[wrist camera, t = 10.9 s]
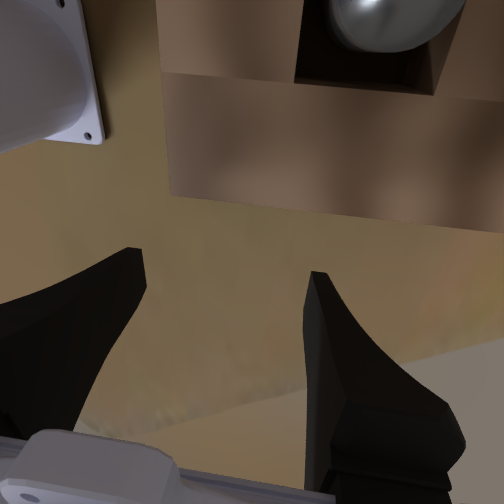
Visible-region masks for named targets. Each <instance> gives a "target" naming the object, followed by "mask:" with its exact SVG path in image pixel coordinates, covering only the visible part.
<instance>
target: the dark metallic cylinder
mask: <svg viewBox="0 0 504 504" xmlns="http://www.w3.org/2000/svg"><path fill="white" fill-rule="evenodd" d="M465 1H466V0H324V3H323V19H324V24H325V28H326V31H327V33H328V35H329V37H330V38H331V39H332V41H333V42H334V43H335V44H336V45H337V46H339V47H340V48H342V49H344V50H347V51H351V52H401V51H406V50H409V49H412V48H415V47H417V46H419V45H422V44H423V43H425V42H427V41H428V40H430V39H432V38H433V37H434V36H436V35H437V34H438V33H439V32H441V31H442V30H443V29H444V28H445V27H446V26H447V25H448V24H449V23H450V22H451V20H452V19H453V18H454V17H455V16H456V14H457V13H458V12H459V10H460V9H461V8H462V6H463V4H464V3H465Z"/></svg>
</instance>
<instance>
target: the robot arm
mask: <svg viewBox="0 0 504 504" xmlns="http://www.w3.org/2000/svg"><path fill="white" fill-rule="evenodd" d="M64 2H65V6H64V8H63V7H62V6H61V4H60V0H0V154H1V153H4V152H7V151H10V150H12V149H15V148H18V147H21V146H24V145H27V144H29V143H32V142H35V141H38V140H41V139H47V140H57V141H66V142H76V143H85V144H95V145H99V144H102V143H103V142H104V141H105V133H104V127H103V122H102V116H101V111H100V105H99V99H98V94H97V88H96V83H95V77H94V71H93V66H92V60H91V55H90V49H89V43H88V38H87V32H86V27H85V21H84V15H83V10H82V4H81V1H80V0H64ZM87 132H88V133H90V134H91V136H92V139H90V138H89V137H88V135H87ZM146 287H147V284H146V277H145V270H144V263H143V256H142V249H138V248H130V247H127V248H125V249H123V250H121V251H119V252H117V253H115V254H113V255H111V256H109V257H108V258H106V259H104V260H102V261H100V262H98V263H97V264H95V265H93V266H91V267H89V268H87V269H86V270H84V271H82V272H80V273H77V274H75V275H73V276H71V277H69V278H67V279H65V280H63V281H61V282H59V283H57V284H54V285H52V286H50V287H47V288H45V289H42V290H40V291H37V292H35V293H32V294H30V295H27V296H24V297H21V298H18V299H15V300H12V301H9V302H6V303H3V304H0V504H452V502H451V499H450V496H449V494H448V491H451V490H452V486H451V482H450V480H449V477H448V474H447V472H448V471H449V470H450V468H451V467H452V466H453V465H454V464H455V463H456V462H457V461H458V459H459V458H460V457H461V456H462V454H463V452H464V450H465V448H466V441H465V438H464V436H463V434H462V431H461V429H460V426H459V424H458V422H457V420H456V418H455V416H454V414H453V412H452V410H451V408H450V406H449V404H448V403H447V402H445V401H444V400H442V399H441V398H440V397H438V396H437V395H435V394H434V393H433V392H431V391H430V390H429V389H427V388H426V387H424V386H423V385H421V384H420V383H419V382H418V381H416V380H415V379H414V378H413V377H412V376H410V375H409V374H408V373H407V372H405V371H404V370H403V369H402V368H401V367H400V366H399V365H397V364H396V363H395V362H394V361H393V360H392V359H391V358H390V357H389V356H388V355H387V354H386V353H385V352H384V351H382V350H381V349H380V348H379V346H378V345H377V344H376V343H375V342H374V341H373V340H372V339H371V338H370V337H369V336H368V334H367V333H366V332H365V331H364V330H363V328H362V327H361V326H360V325H359V323H358V322H357V321H356V319H355V318H354V317H353V315H352V314H351V312H350V311H349V309H348V308H347V306H346V305H345V303H344V302H343V300H342V299H341V297H340V295H339V294H338V292H337V290H336V289H335V287H334V285H333V283H332V281H331V279H330V278H329V276H328V274H327V273H323V272H316V271H311V275H310V280H309V285H308V289H307V294H306V299H305V304H304V309H303V340H304V351H305V363H306V375H307V428H306V429H307V430H306V460H305V483H304V490H302V489H296V488H290V487H285V486H279V485H273V484H268V483H262V482H256V481H250V480H245V479H240V478H234V477H228V476H223V475H217V474H211V473H206V472H200V471H194V470H189V469H183V468H178V467H177V465H176V464H175V462H174V461H173V459H172V457H171V456H169V455H167V454H166V453H164V452H163V451H161V450H160V449H158V448H154V447H151V446H147V445H145V444H141V443H135V442H130V441H124V440H118V439H113V438H107V437H101V436H95V435H90V434H84V433H78V432H73V429H74V427H75V424H76V422H77V420H78V417H79V415H80V412H81V410H82V408H83V405H84V403H85V401H86V399H87V396H88V394H89V392H90V390H91V388H92V386H93V383H94V381H95V379H96V377H97V375H98V373H99V371H100V369H101V367H102V365H103V363H104V361H105V359H106V357H107V355H108V354H109V352H110V350H111V348H112V347H113V345H114V344H115V342H116V340H117V339H118V337H119V336H120V334H121V333H122V331H123V330H124V328H125V326H126V325H127V323H128V322H129V320H130V319H131V317H132V315H133V314H134V312H135V311H136V309H137V307H138V305H139V303H140V301H141V299H142V297H143V294H144V292H145V290H146Z"/></svg>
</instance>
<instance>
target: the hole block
mask: <svg viewBox="0 0 504 504" xmlns="http://www.w3.org/2000/svg"><path fill="white" fill-rule="evenodd" d="M155 1H156V14H157V26H158V39H159V52H160V65H161V78H162V91H163V104H164V117H165V130H166V143H167V156H168V169H169V182H170V195H172V196H180V197H189V198H198V199H207V200H215V201H224V202H233V203H242V204H250V205H259V206H268V207H277V208H285V209H294V210H303V211H311V212H320V213H329V214H338V215H346V216H355V217H364V218H373V219H381V220H390V221H399V222H408V223H416V224H425V225H434V226H443V227H451V228H460V229H469V230H477V231H486V232H495V233H504V0H466V1H465V3H464V4H463V6H462V8H461V9H460V10H459V12H458V13H457V14H456V16H455V17H454V18H453V19H452V20H451V22H450V23H449V24H448V25H447V26H446V27H445V28H444V29H443V30H442V31H441V32H439V33H438V34H437V35H436V36H434V37H433V38H432V39H430V40H428V41H427V42H425V43H423V44H422V45H419V46H417V47H415V48H412V51H411V55H410V58H409V62H408V65H407V68H406V72H405V75H404V79H403V82H402V85H401V84H390V83H378V82H367V81H355V80H344V79H332V78H321V77H309V76H298V75H295V68H296V60H297V52H298V44H299V36H300V28H301V20H302V12H303V4H304V0H155Z"/></svg>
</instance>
